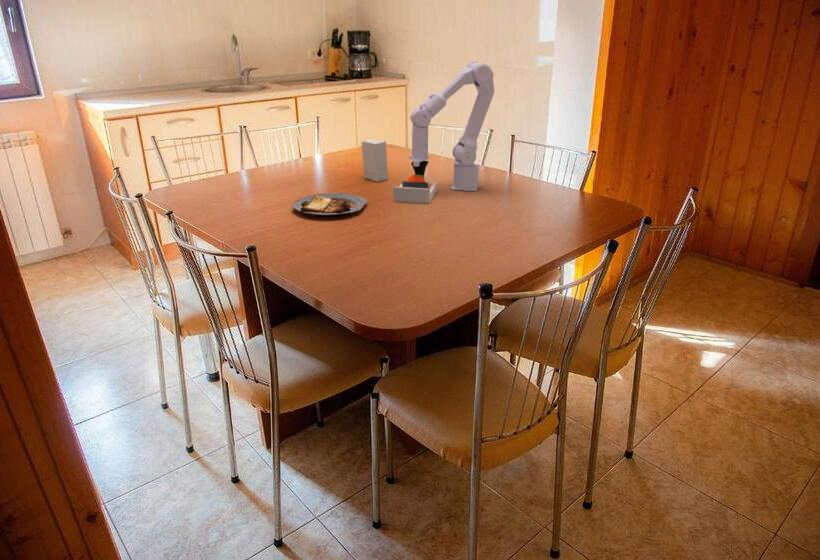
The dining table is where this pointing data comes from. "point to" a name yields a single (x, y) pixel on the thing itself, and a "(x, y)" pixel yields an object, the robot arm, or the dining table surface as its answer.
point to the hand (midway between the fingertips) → (419, 181)
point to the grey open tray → (414, 194)
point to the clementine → (416, 178)
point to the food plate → (320, 204)
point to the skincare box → (375, 160)
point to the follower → (415, 184)
